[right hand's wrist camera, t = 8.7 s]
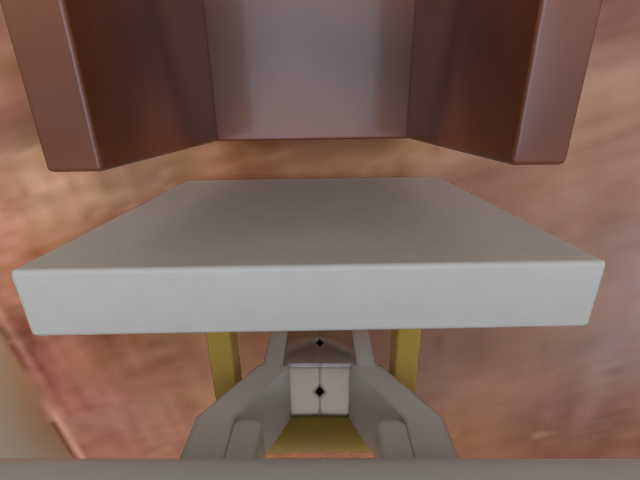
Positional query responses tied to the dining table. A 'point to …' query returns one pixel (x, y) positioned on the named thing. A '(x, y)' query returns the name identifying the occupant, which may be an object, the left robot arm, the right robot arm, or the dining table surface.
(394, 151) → the dining table surface
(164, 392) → the dining table surface
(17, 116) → the dining table surface
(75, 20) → the drawer
